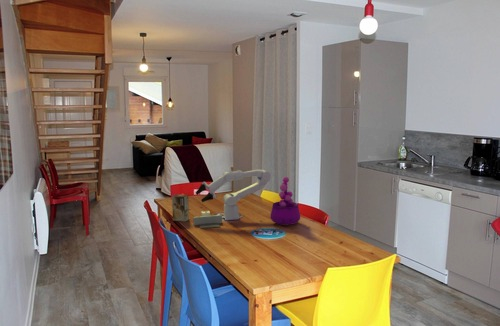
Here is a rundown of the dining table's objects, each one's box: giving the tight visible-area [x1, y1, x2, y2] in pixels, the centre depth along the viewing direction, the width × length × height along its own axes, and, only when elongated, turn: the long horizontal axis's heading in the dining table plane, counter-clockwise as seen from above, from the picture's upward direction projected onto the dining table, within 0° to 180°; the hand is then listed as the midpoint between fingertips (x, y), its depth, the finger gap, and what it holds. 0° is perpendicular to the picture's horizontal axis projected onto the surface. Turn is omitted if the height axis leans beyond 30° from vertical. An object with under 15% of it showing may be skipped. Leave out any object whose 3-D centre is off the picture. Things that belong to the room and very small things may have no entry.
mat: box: [198, 223, 221, 230], centre depth 257 cm, size 12×8×1 cm, turn 107°
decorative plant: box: [269, 176, 301, 226], centre depth 261 cm, size 19×18×30 cm
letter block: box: [200, 210, 211, 216], centre depth 268 cm, size 5×5×6 cm
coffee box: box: [171, 194, 190, 222], centre depth 270 cm, size 9×6×16 cm
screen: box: [192, 214, 223, 226], centre depth 261 cm, size 18×1×5 cm, turn 107°
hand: (198, 197), depth 265 cm, fingers open, 7 cm apart
